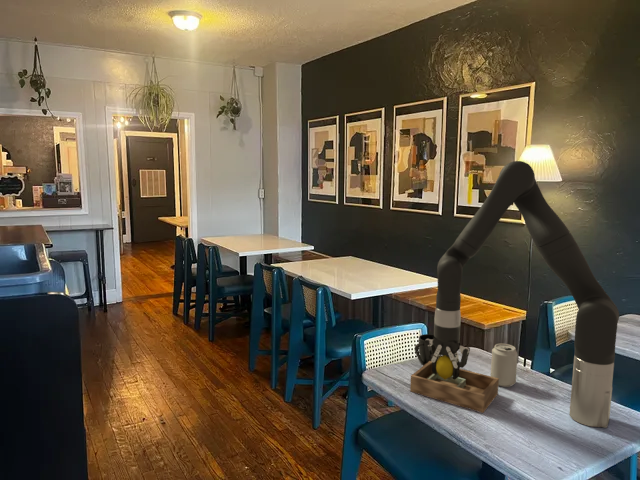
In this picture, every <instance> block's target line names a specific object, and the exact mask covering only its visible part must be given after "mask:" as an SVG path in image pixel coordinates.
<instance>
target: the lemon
mask: <svg viewBox="0 0 640 480" xmlns="http://www.w3.org/2000/svg"><path fill="white" fill-rule="evenodd" d="M453 368H454V366H453V363H452V361H451V360H450V357H448V356H446V355H441V356H440V357H439V358H438V360H437V363H436V370H437V373H438V375H439V376H440V377H442V378H443V379H445V380H446V379H447V378H450V377H451V376H452V375H453Z"/></svg>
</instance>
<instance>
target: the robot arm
mask: <svg viewBox="0 0 640 480" xmlns="http://www.w3.org/2000/svg"><path fill="white" fill-rule="evenodd" d="M513 204H514V206H515V207H516V208H517V210H518V211H519V212H520V214H521V216H522V219H523V220H524V223H525V225H526V228H527V231H528V233H529V235H530V237H531V239H532V242H533V243H534V246H535V247H536V249H537V250H538V252H539V255H541V257H542V260H543V261H544V262H545V264H546V265H547V267H548V268H549V269H550V270H551V271H552V272H553V273H554V274H555V275H556V277H558V278H559V280H560V281H562V283H564V285H565V287H567V289H568V291H569V292H570V293H571V294H570V295H571V296H572V299H573V300H574V301H575V304H576V306H577V308H578V311H577V313H576V315H575V316H576V317H575V325H574V326H575V328H574V341H573V342H574V343H573V345H574V346H573V347H574V356H573V369H572V379H571V390H570V403H569V416H570V418H571V419H572V420H574V421H575V422H577V423H579V424H582V425H585V426H588V427H593V428H604V429H608V425H609V422H610V415H611V405H612V395H613V378H614V368H615V358H616V341H617V340H616V339H617V331H618V322H619V318H620V312H619V309H618V307H617V305H616V304H615V303H614V301H613V300H612V299H611V297H610V296H609V295H608V294H607V292H606V291H605V289H604V288H603V287H602V286H601V284H600V283H599V281H598V280H597V279H596V277H595V276H594V273H593V271H592V270H591V267H590V265H589V264H588V261H587V260H586V257H585V256H584V254H583V252H582V251H581V249H580V246H579V245H578V243H577V242H576V240H575V238H574V236H573V235H572V233H571V232H570V230H569V228H568V227H567V225H566V224H565V222H564V221H563V220H562V219H561V218H560V216H559V214H557V213H556V212H555V211H554V210H553V209H552V207H551V206H550V205H549V203H548V202H547V200H546V199H545V197H544V195H543V193H542V190H541V188H540V186H539V185H538V182H537V179H536V176H535V172H534V169H533V168H532V166H531V165H530V164H528V163H527V162H526V161H521V160H515V161H511V162H508V163H507V164H505V165H504V166H503V167H502V168H501V170H500V172H499V175H498V176H497V179H496V181H495V182H494V184H493V186H492V189H491V191H490V192H489V194H488V196H487V197H486V199H485V200H484V202H483V203H482V204H481V205H480V207H479V208H478V210H477V211H476V212H475V214H474V215H473V216H472V218H471V219H470V220H469V222H467V224H466V225H465V227H464V228H463V230H462V231H461V232H460V234H459V235H458V236H457V237H456V239H455V241H454V242H453V244H452V245H451V246H450V247H449V248H448V249H447V250H446V252H445V253H444V254H443V255H442V256H441V257H440V259H439V261H437V269H436V270H437V291H436V296H435V297H436V298H435V299H436V300H435V312H434V319H433V321H434V326H433V327H434V328H433V335H434V339H429V338H428V339H426V340H425V341H424V347H425V355H426V359H429V360H431V361H432V372H433V374H435V375H436V374H437V370H436V363H437V360H438V358H439V356H440V355H441V356H442V355H446V356H448V357H450V360H451V361H452V363H453V366H454V368H453V379H454V380H455V379H457V378H458V377H459V373H460V369H463V368H464V367H466V365H467V363H468V359H469V354H470V351H471V348H470V347H469V346H466V347H465V346H463V345H462V344H461V341H460V340H461V339H460V338H461V322H462V321H461V318H462V317H461V302H462V301H461V300H462V299H461V298H462V297H461V290H462V284H463V283H462V282H463V268H464V267H465V266H466V264H467V263H468V262H469V261H470V259H472V258H473V257H475V256H476V255H477V254H478V253H479V251H480V250H481V249H482V248H483V246H484V244H485V243H486V241H487V240H488V239H489V238H490V236H491V235H492V233H493V231H494V229H495V228H496V227H497V225H498V223H499V222H500V220H501V218H502V217H503V215H505V213H506V211H508V209H509V208H510V206H511V205H513ZM432 344H433V345H434V346H435V348H436V351H435V353H434V356H433V354H432V347H431V346H432ZM459 351H460V354H461V358H460V359H459V354H458V352H459Z"/></svg>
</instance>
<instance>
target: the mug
mask: <svg viewBox="0 0 640 480" xmlns="http://www.w3.org/2000/svg"><path fill="white" fill-rule="evenodd" d="M428 338H429V339H434V333H433V334H432V333H431V334H430V333H425V334H420V335H419V336H418V343H417V344H415V346H414V352H415V355H416V357H417V359H418V362H419V363H420V365H422V367H423V366H424V365H425V364H426V363H428V362H429V361H431V360H429V359H426V355H425V347H424V341H425V340H426V339H428ZM431 347H432V354H433V356H434V353H435V351H436V348H435V346H434V345H433V344H432V346H431ZM440 356H442V355H440ZM440 356H439V357H440ZM431 362H432V361H431Z"/></svg>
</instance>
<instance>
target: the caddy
mask: <svg viewBox="0 0 640 480" xmlns="http://www.w3.org/2000/svg"><path fill="white" fill-rule="evenodd" d="M498 383H499V378H495V377H491V375H487V374H483V373H479V372H475V371H472V370H467V369H463V368H460V373H459V377H458V378H457V379H455V380H454V379H453V375H452V376H451V377H450V378H447V379H446V380H445V379H443V378H442V377H440V376H439V375H438V373H437V374H436V375H435V374H433V372H432V362H431V361H429V362H428V363H426V364H425V365H424V366H423V365H422V366H421V367H420V368H419V369H417V370H416V371H415V372H414V373H412V374H411V375H410V389H409V392H412V393H414V394H418V395H422V396H424V397H429V398H431V399H435V400H438V401H442V402H444V403H445V402H446V403H448V404H452V405H455V406H459V407H462V408H465V409H468V410H471V411H475V412H478V413H481V414H483V413H484V412H485V411H486V410H487V409H488V407H489V406H490V405H491V403H493V402H494V400H495V398H496V397H497V396H498V395H499V385H498Z"/></svg>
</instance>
